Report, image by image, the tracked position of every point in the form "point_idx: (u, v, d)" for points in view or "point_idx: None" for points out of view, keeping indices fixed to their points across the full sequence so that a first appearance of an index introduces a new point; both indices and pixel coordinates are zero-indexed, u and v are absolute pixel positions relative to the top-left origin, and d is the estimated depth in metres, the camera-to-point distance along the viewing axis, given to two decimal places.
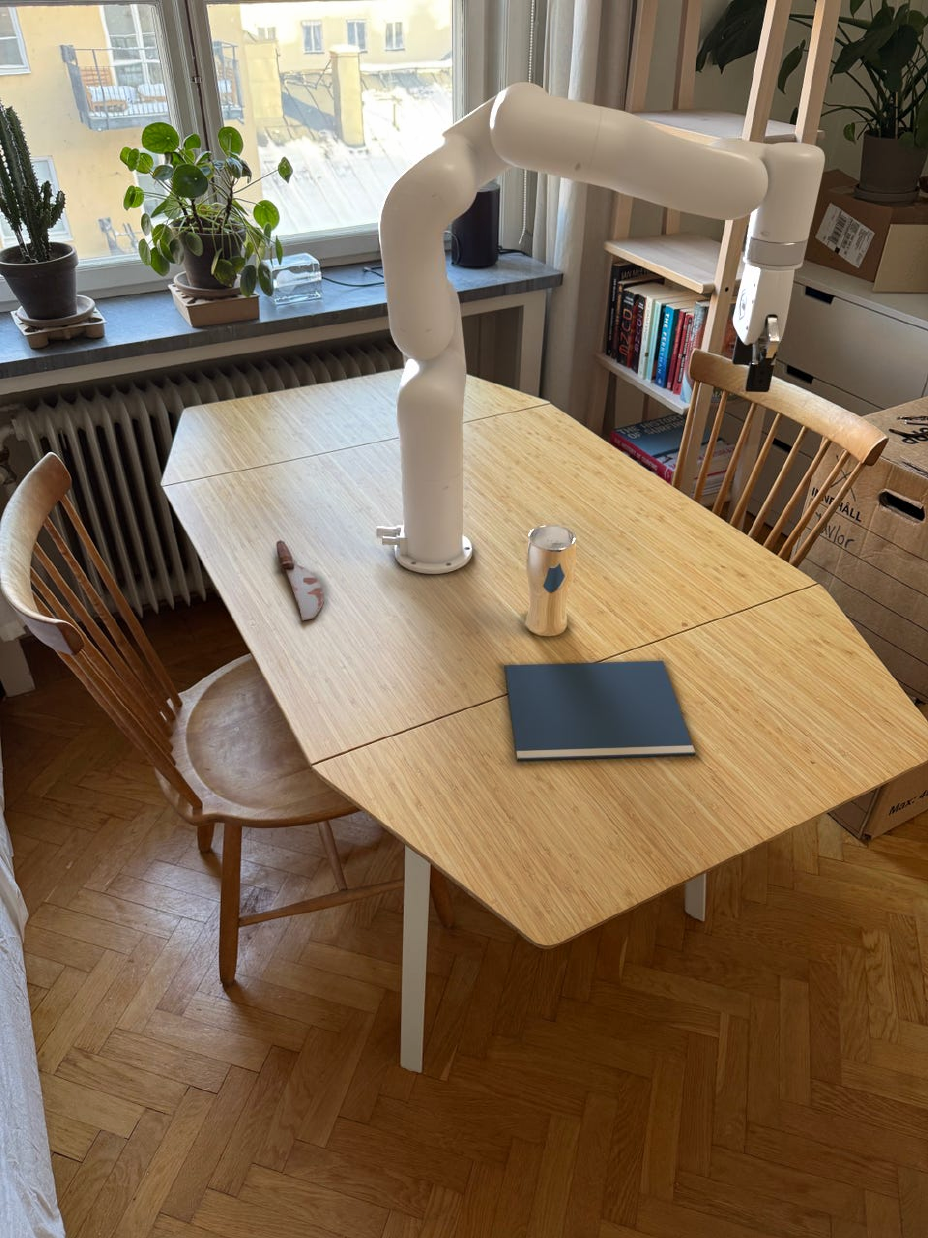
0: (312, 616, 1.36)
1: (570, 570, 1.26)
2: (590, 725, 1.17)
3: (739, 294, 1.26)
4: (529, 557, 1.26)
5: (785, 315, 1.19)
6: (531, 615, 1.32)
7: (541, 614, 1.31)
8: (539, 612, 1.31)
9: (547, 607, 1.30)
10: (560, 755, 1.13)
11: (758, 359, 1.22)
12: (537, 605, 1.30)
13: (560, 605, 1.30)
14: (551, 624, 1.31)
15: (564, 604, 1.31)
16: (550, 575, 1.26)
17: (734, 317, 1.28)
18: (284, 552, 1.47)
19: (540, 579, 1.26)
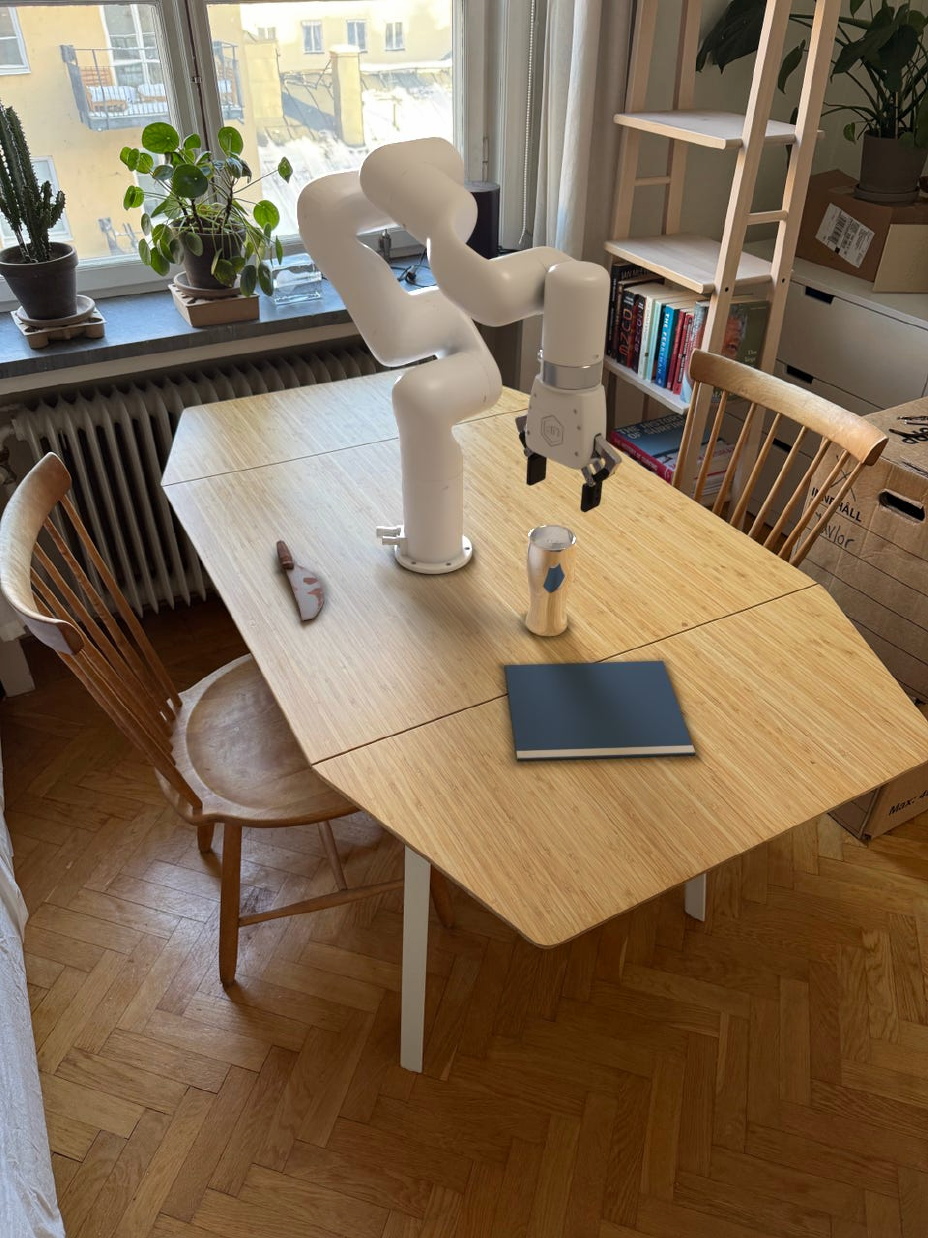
0: (312, 616, 1.36)
1: (570, 571, 1.26)
2: (590, 725, 1.17)
3: (534, 420, 1.16)
4: (529, 557, 1.26)
5: (605, 430, 1.14)
6: (531, 615, 1.32)
7: (541, 614, 1.31)
8: (539, 612, 1.31)
9: (547, 607, 1.30)
10: (560, 755, 1.13)
11: (595, 480, 1.15)
12: (537, 605, 1.30)
13: (560, 605, 1.30)
14: (551, 624, 1.31)
15: (564, 604, 1.31)
16: (550, 575, 1.26)
17: (531, 443, 1.19)
18: (284, 552, 1.47)
19: (540, 579, 1.26)
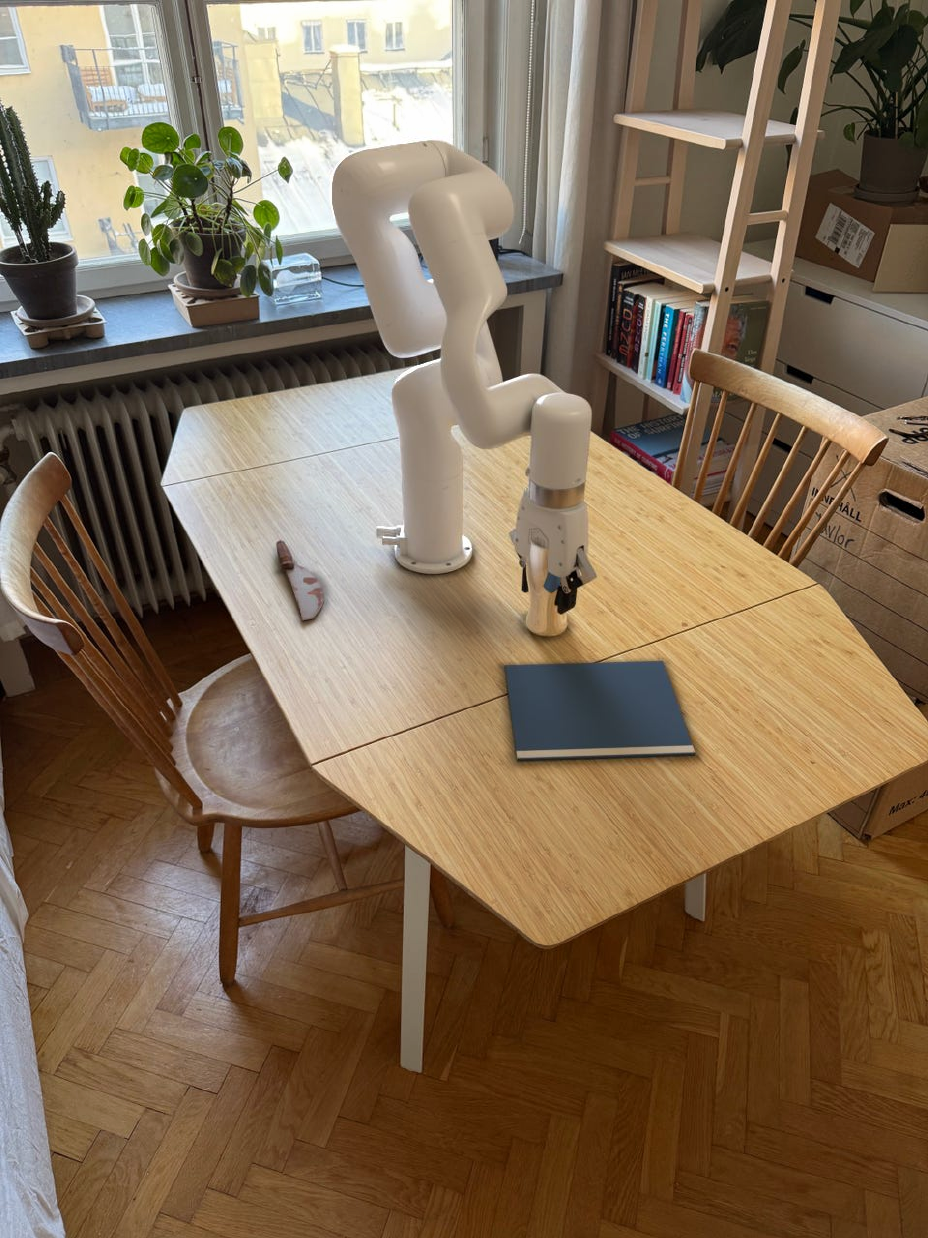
0: (312, 616, 1.36)
1: None
2: (590, 725, 1.17)
3: (522, 529, 1.26)
4: (529, 557, 1.26)
5: None
6: (531, 615, 1.32)
7: (541, 614, 1.31)
8: (539, 612, 1.31)
9: (547, 607, 1.30)
10: (560, 755, 1.13)
11: (570, 588, 1.26)
12: (537, 605, 1.30)
13: None
14: (551, 624, 1.31)
15: None
16: (550, 575, 1.25)
17: (519, 549, 1.28)
18: (284, 552, 1.47)
19: (540, 579, 1.26)
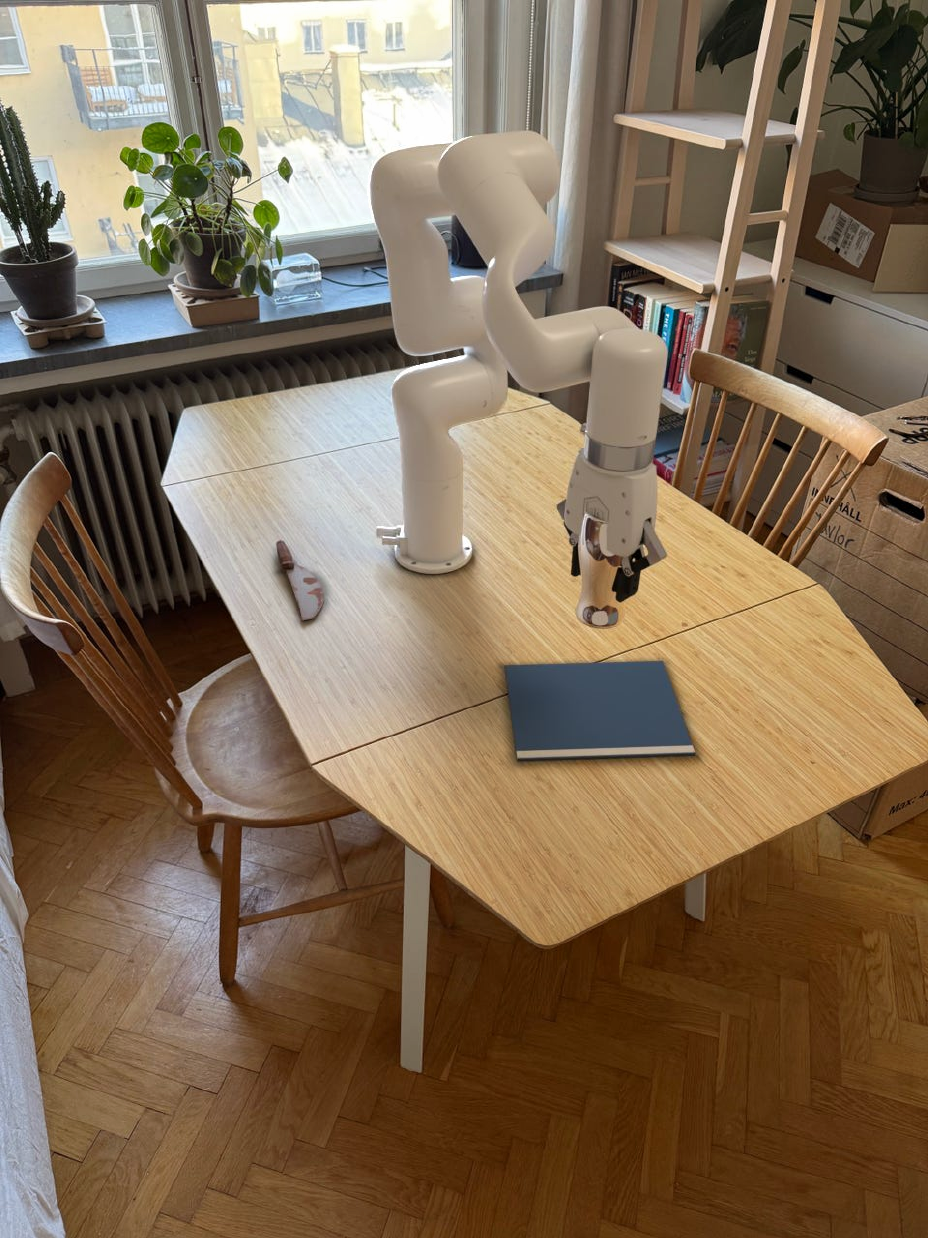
0: (312, 616, 1.36)
1: None
2: (590, 725, 1.17)
3: (575, 499, 1.04)
4: (584, 533, 1.05)
5: None
6: (583, 603, 1.11)
7: (596, 602, 1.09)
8: (593, 599, 1.09)
9: (603, 593, 1.08)
10: (560, 755, 1.13)
11: (633, 569, 1.04)
12: (591, 591, 1.08)
13: None
14: (607, 614, 1.10)
15: None
16: (609, 554, 1.04)
17: (571, 523, 1.06)
18: (284, 552, 1.47)
19: (597, 559, 1.05)
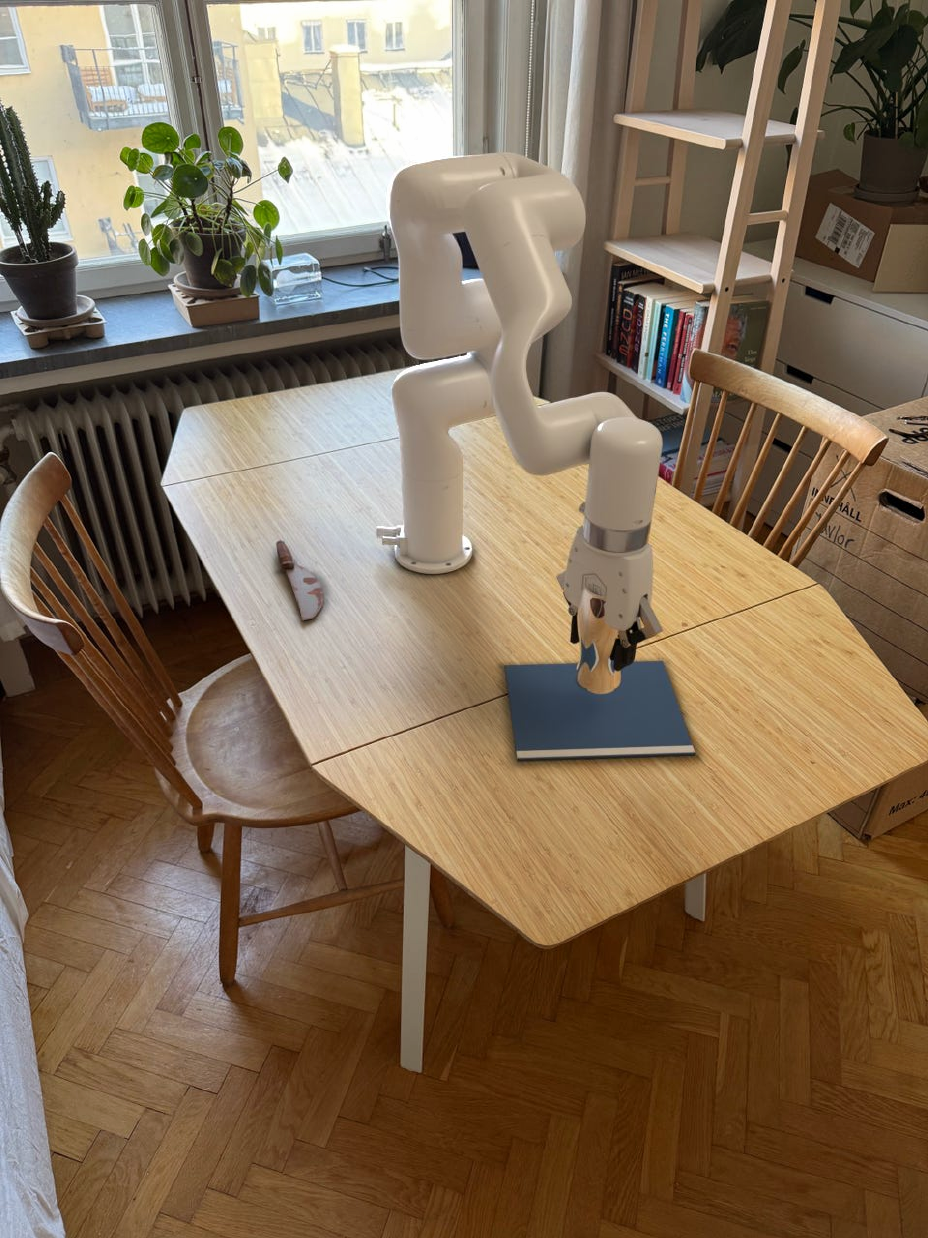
0: (312, 616, 1.36)
1: None
2: (590, 725, 1.17)
3: (574, 574, 1.08)
4: (582, 606, 1.09)
5: None
6: (582, 670, 1.15)
7: (594, 670, 1.13)
8: (592, 667, 1.13)
9: (602, 662, 1.12)
10: (560, 755, 1.13)
11: (630, 642, 1.08)
12: (590, 660, 1.12)
13: None
14: (605, 681, 1.14)
15: None
16: (607, 627, 1.08)
17: (570, 596, 1.10)
18: (284, 552, 1.47)
19: (595, 631, 1.09)
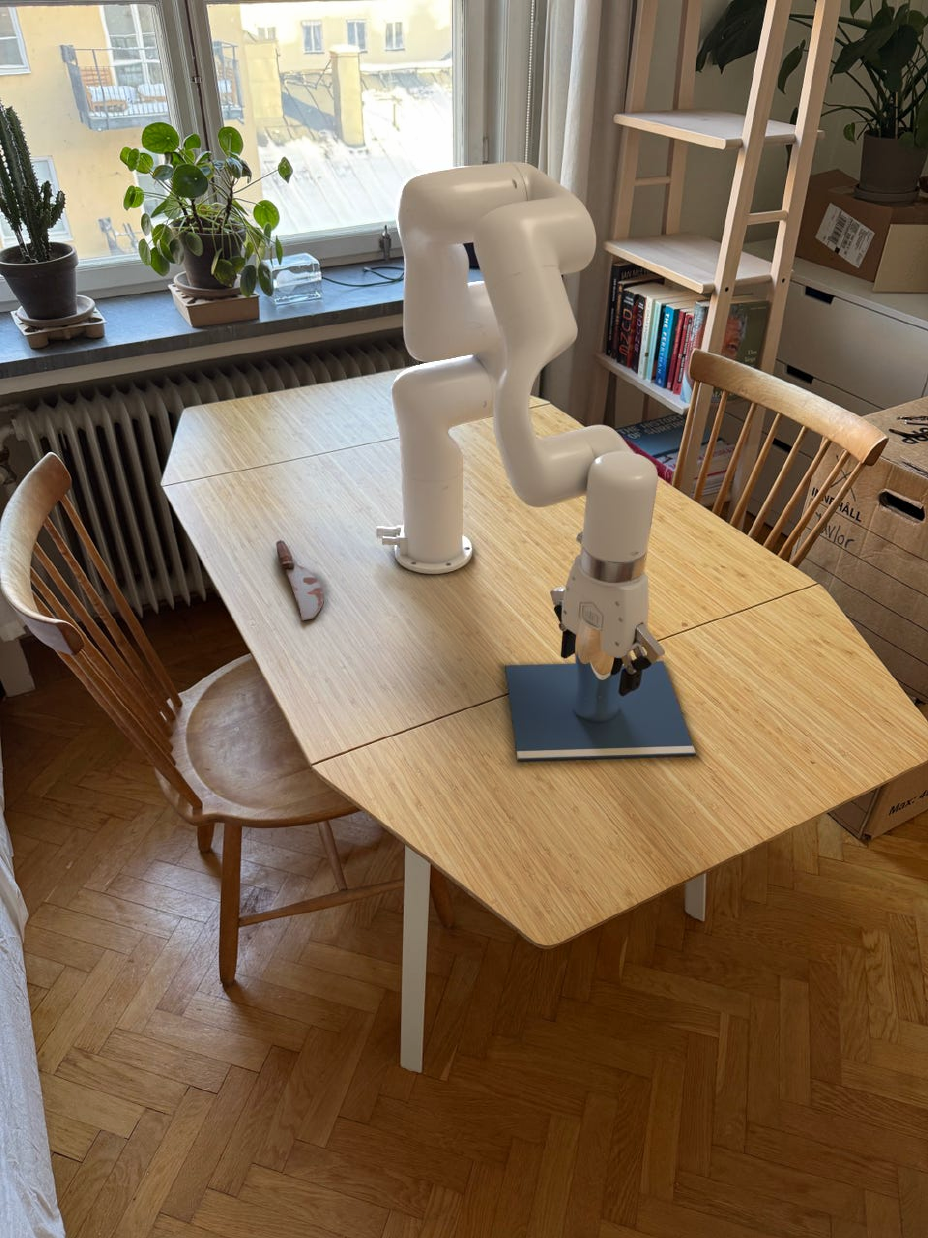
0: (312, 616, 1.36)
1: None
2: (590, 725, 1.17)
3: (572, 602, 1.11)
4: (580, 637, 1.11)
5: (647, 618, 1.08)
6: (579, 698, 1.17)
7: (591, 698, 1.16)
8: (589, 696, 1.16)
9: (598, 691, 1.15)
10: (560, 755, 1.13)
11: (636, 668, 1.09)
12: (587, 688, 1.15)
13: (613, 688, 1.15)
14: (602, 709, 1.17)
15: (617, 687, 1.16)
16: (604, 658, 1.11)
17: (568, 622, 1.13)
18: (284, 552, 1.47)
19: (592, 662, 1.11)
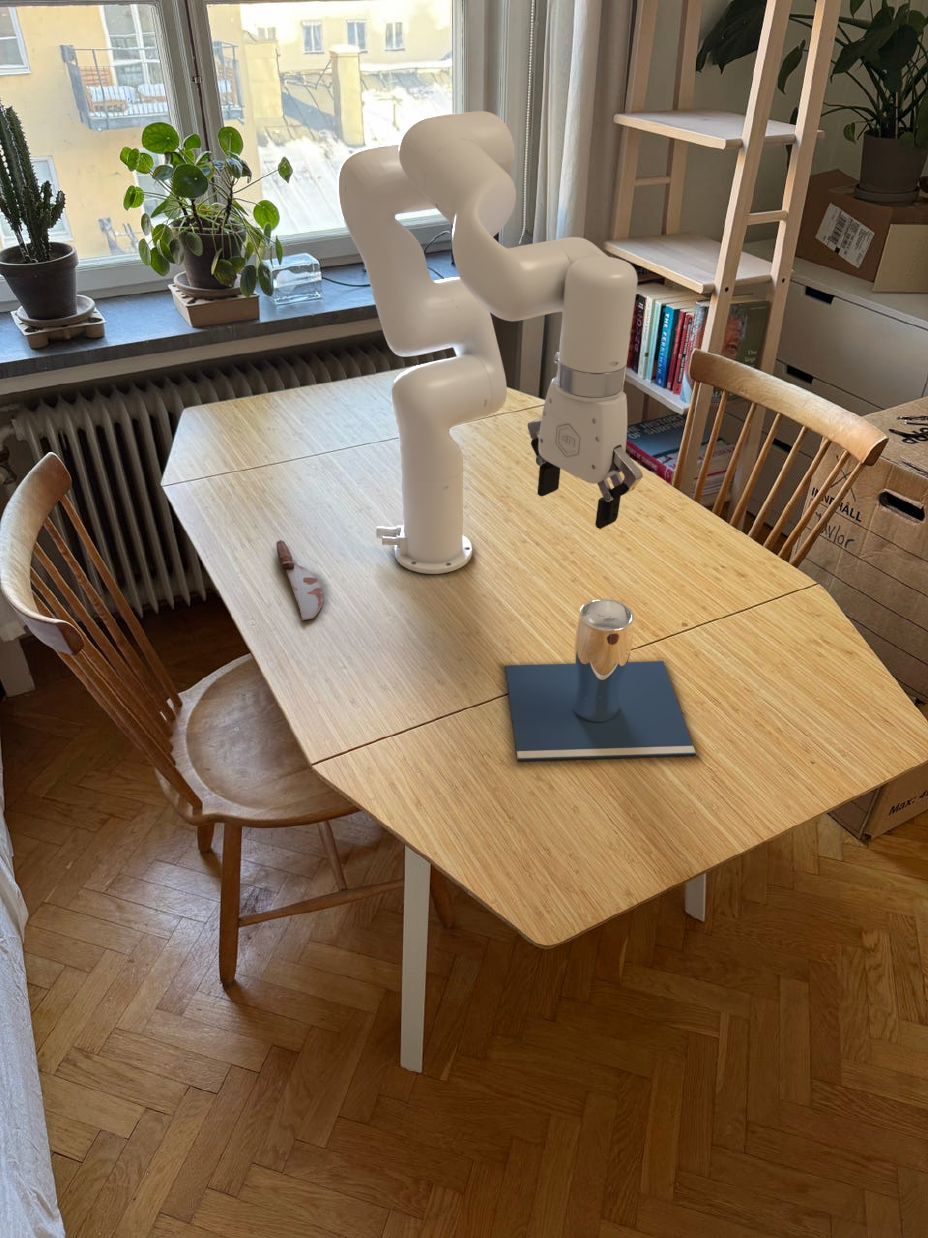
0: (312, 616, 1.36)
1: (626, 652, 1.11)
2: (590, 725, 1.17)
3: (548, 427, 1.07)
4: (580, 637, 1.11)
5: None
6: (579, 698, 1.17)
7: (591, 698, 1.16)
8: (589, 696, 1.16)
9: (598, 691, 1.15)
10: (560, 755, 1.13)
11: (613, 495, 1.06)
12: (587, 688, 1.15)
13: (613, 688, 1.15)
14: (602, 709, 1.17)
15: (617, 687, 1.16)
16: (604, 658, 1.11)
17: (544, 451, 1.09)
18: (284, 552, 1.47)
19: (592, 662, 1.11)
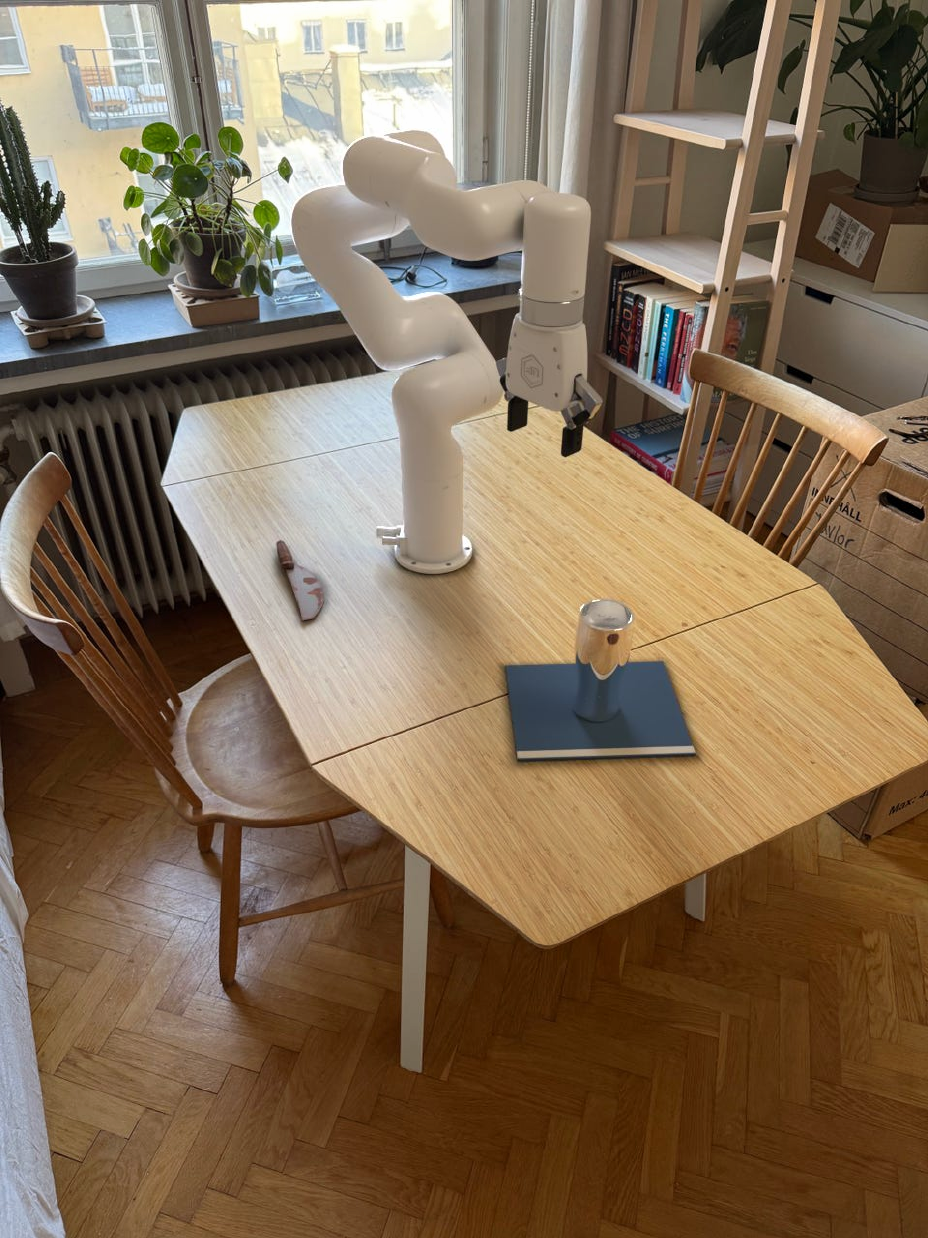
0: (312, 616, 1.36)
1: (626, 652, 1.11)
2: (590, 725, 1.17)
3: (514, 361, 1.14)
4: (580, 637, 1.11)
5: (586, 371, 1.11)
6: (579, 698, 1.17)
7: (591, 698, 1.16)
8: (589, 696, 1.16)
9: (598, 691, 1.15)
10: (560, 755, 1.13)
11: (576, 422, 1.12)
12: (587, 688, 1.15)
13: (613, 689, 1.15)
14: (602, 709, 1.17)
15: (617, 687, 1.16)
16: (604, 658, 1.11)
17: (511, 385, 1.16)
18: (284, 552, 1.47)
19: (592, 662, 1.11)
